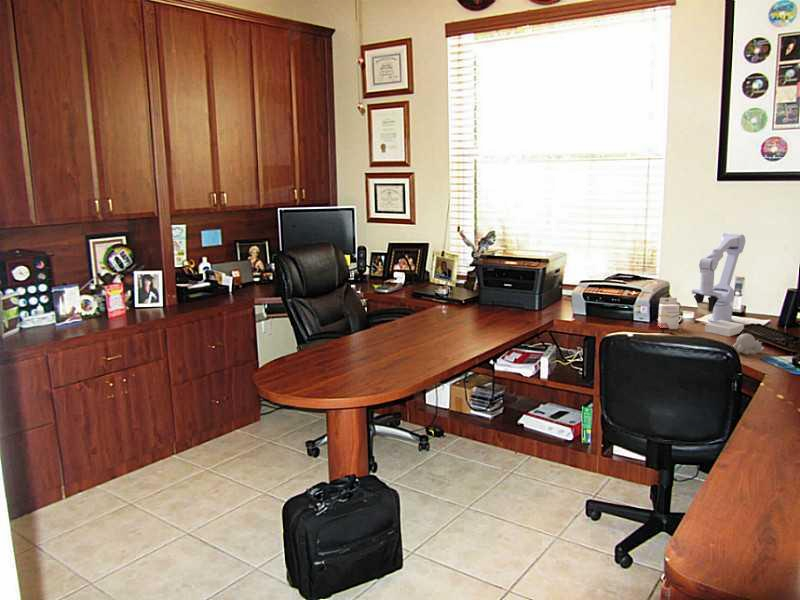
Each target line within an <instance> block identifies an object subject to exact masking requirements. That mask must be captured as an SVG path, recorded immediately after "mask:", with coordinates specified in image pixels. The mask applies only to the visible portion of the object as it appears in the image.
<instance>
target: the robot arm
mask: <svg viewBox="0 0 800 600" xmlns="http://www.w3.org/2000/svg"><path fill="white" fill-rule="evenodd" d="M745 245H746V236H745V235H744V234H735V233H725V232H724V233H722V234H721V237H720V242H719V244H718V246H717V247H716V248H713V249H712V250H711V251H710V252H709V253H708V254H707V255H706V257H702V258H701V259H700V260H699V264H698V266H699V273H700V287H699V289H697V288H696V289H695V288H694V289H691V294H692V295H693V298H694V299H695V301H696V304H697V306H698V303H701V302H704V300H705V299H704V298H705V296H707V302H709V312H711V311H713V314H711V318H710V319H707V321H708V322H714V321H718V320H723V321H728V322H734V319H733V306H732V303H733V300H734V296H735V290H734V289H733V287H732V286H731V282H732V279H733V275H734V273H735V269H736V266H737V263H738V259H739V257H740V254H741V253H743V251H744V247H745ZM724 253H727V256H726V259H725V262H724V266H723V268H722V273H721V275H720V279H719V282H718V283H717V284H715V285H714V283H715V282H714V281H715V271H716V270H717V268H718V266H719V262H720V261H721V259H722V258H723V257H724Z"/></svg>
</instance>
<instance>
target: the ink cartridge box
mask: <svg viewBox="0 0 800 600" xmlns="http://www.w3.org/2000/svg"><path fill="white" fill-rule="evenodd" d="M677 301H678V298H677V297H660V298H659V303H658V314H657V315H658V317H657V318H658V319H657V327H658V326H659V327H660V328H669V329H668V330H678V329H679V322H680V321H679V318H680V305H679V304H678V303H677ZM659 327H658V328H659ZM660 328H659V329H660Z"/></svg>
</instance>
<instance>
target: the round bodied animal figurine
mask: <svg viewBox="0 0 800 600" xmlns="http://www.w3.org/2000/svg"><path fill="white" fill-rule="evenodd" d="M762 343H763V341H759V339H757V340H756V339H755V337H754V336H753V335H752V334H751V333H744V332H743V333H740V335H739V336H737V337H736V342H735V343H734V344H733V345H732V346H733V347H734V348H735V349H736V350H735V349H734V350H735V351H737V352H740V353H742V354H743V355H746V356H748V355H749V354H750V351H751V350H753V351H754V352H755V353H757V354H760V353H761V352H763V350H764V345H762Z"/></svg>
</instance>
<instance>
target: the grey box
mask: <svg viewBox="0 0 800 600" xmlns="http://www.w3.org/2000/svg"><path fill="white" fill-rule="evenodd" d="M704 325H705V327H704V332H705V333H706V332H707V333H710V334H715V335H721V336H724V337H731V336H735V335H738V334H741V333H740V332H741V331H742V330H743V329H744V330H745V324H743V323H738V322H734V321H730V322H728V321H723V320H718V321H714V322H712V321H710V322H708V323H705V324H704Z"/></svg>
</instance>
